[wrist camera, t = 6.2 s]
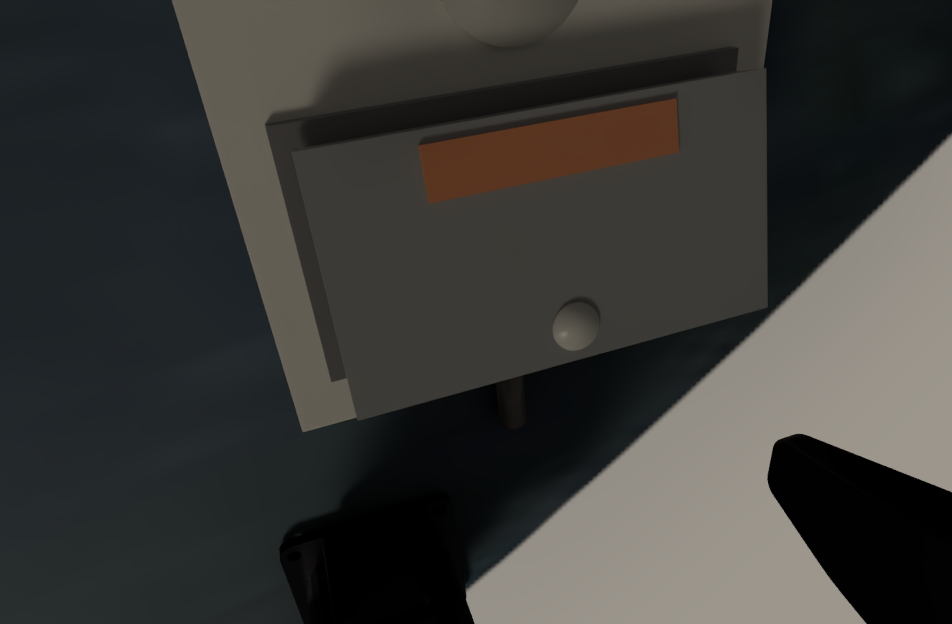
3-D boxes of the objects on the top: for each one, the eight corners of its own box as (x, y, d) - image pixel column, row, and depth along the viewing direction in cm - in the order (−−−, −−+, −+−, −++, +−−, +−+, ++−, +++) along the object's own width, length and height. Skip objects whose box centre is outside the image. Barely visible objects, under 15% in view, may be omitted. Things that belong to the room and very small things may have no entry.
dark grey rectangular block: (737, 295, 18) (770, 308, 17) (351, 399, 16) (358, 423, 14) (732, 71, 16) (769, 67, 15) (290, 149, 14) (292, 152, 12)
